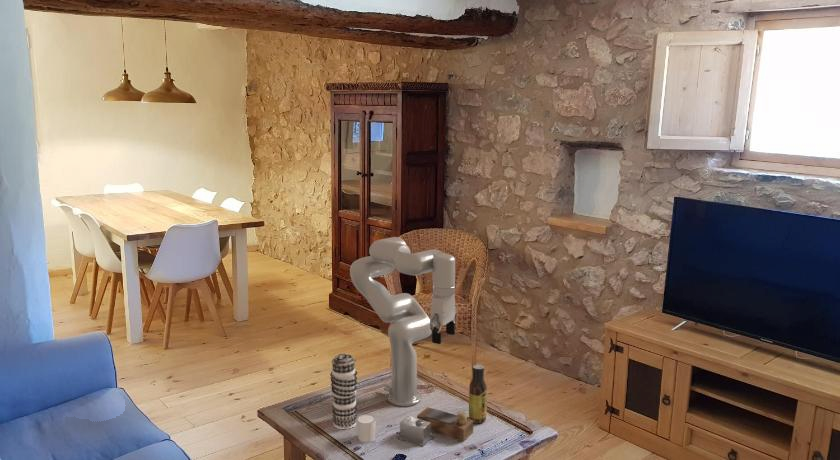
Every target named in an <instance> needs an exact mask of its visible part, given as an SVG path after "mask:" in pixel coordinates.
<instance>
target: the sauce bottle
mask: <svg viewBox="0 0 840 460" xmlns="http://www.w3.org/2000/svg"><path fill="white" fill-rule="evenodd" d="M484 374H485V366H484V365H482V364H475V365H472V379H471V381H470V383H469V391H468V419H471V420H473V424H482V423H485V422H486V420H487V410H488V408H487V406H488V405H487V404H488V403H487V402H488V386H487V385H486V382H485V375H484Z"/></svg>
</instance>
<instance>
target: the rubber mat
mask: <svg viewBox="0 0 840 460" xmlns="http://www.w3.org/2000/svg"><path fill="white" fill-rule="evenodd" d="M434 437H435V436H434V435H432V434H431V437H430V438H429V439H428V440H426V441H425V442H424V443H421V442H418V441H415V440H411V439H408V438H405V437H402V436H400V434H399V435H398V436H397V437H396V439H398V440H400V441H404V442H408V443H410V444H414V445H415V446H419V447H422V448H423V447H425V446H426V445H427V444H428V443H430V441H431V440H432V439H433V438H434Z"/></svg>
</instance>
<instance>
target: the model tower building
mask: <svg viewBox="0 0 840 460" xmlns="http://www.w3.org/2000/svg"><path fill="white" fill-rule="evenodd" d="M355 362H356V359H355V358H354V357H353V356H352V355H351V354H349V353H339V354H337V355H335V357H334V358H333V359H332V360H331V363H332V365H331V366H332V369H331V371H330V374H329V376H330V382H331V384H330V385H331V387H330V388H331V394H332V396H333V400H332V406H331V407H332V422H334V423H332V425H333V424H335V426H338V427H340V428H344V429H347V428H351V429H353V428H352V427H354V426H355V425H356V418H357V417H358V408H357V407H358V405H357V399H356V394H357V391H358V389H357V388H358V387H357V386H356V385H357V384H358V382H357V380H358V377H357V375H358V372H357V370H356V367H355ZM355 427H356V426H355ZM355 427H354V428H355ZM347 430H348V429H347Z"/></svg>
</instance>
